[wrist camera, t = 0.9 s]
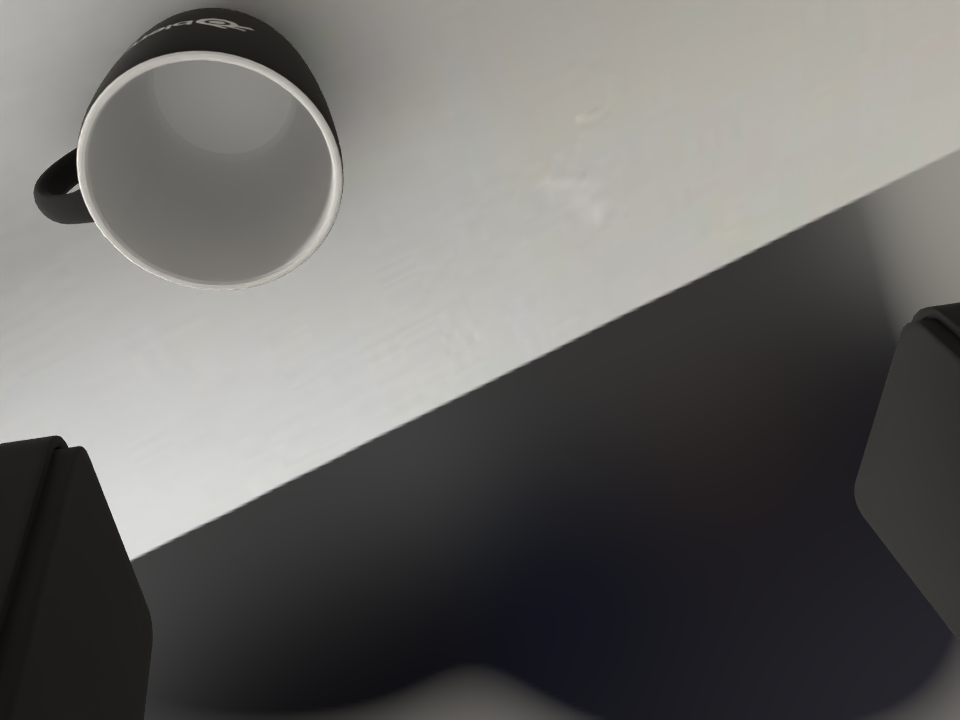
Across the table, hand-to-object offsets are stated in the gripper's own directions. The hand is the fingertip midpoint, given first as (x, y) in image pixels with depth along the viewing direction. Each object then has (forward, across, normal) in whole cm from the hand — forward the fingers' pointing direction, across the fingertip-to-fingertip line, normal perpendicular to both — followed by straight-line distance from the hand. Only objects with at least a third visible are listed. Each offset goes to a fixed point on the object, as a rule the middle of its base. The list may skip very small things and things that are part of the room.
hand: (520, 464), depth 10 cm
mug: (+33, +7, +6) cm, 34 cm away
